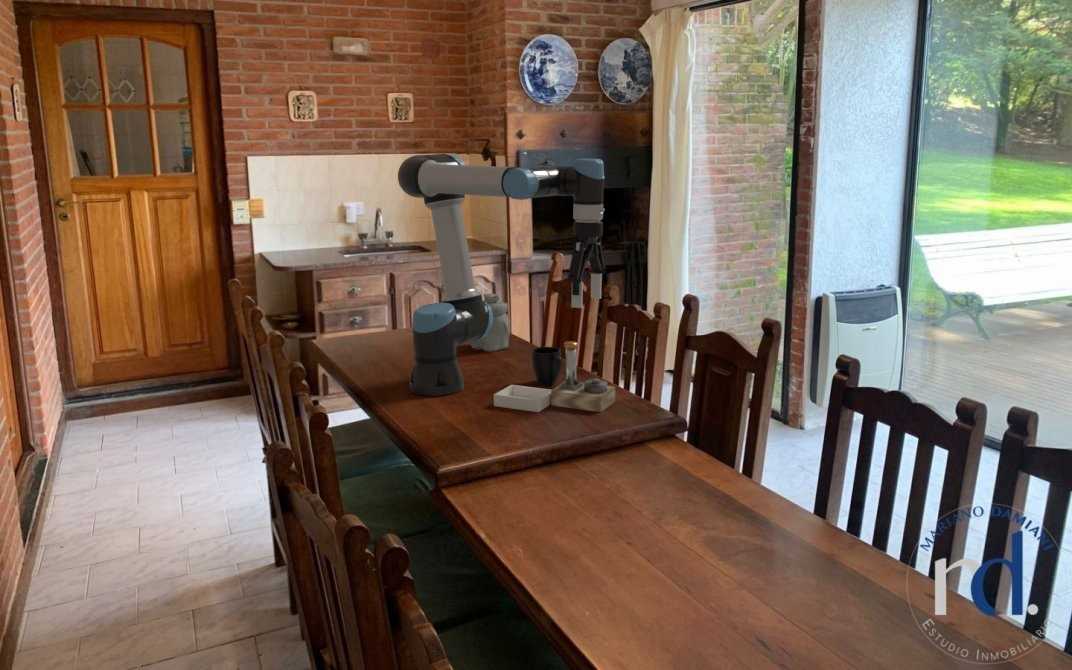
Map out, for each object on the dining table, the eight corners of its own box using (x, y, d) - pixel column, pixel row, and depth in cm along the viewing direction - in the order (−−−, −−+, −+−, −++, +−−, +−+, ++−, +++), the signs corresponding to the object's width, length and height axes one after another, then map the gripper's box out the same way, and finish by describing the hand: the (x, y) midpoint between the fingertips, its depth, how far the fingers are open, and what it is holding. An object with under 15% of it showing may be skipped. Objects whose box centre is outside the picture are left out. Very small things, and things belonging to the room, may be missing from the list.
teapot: (461, 342, 295) (459, 288, 291) (505, 340, 298) (504, 286, 293) (465, 354, 279) (463, 297, 275) (511, 351, 282) (510, 295, 278)
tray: (493, 405, 225) (493, 394, 224) (511, 395, 234) (511, 384, 233) (538, 412, 219) (538, 400, 218) (555, 401, 228) (555, 390, 227)
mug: (546, 391, 237) (545, 357, 235) (527, 380, 248) (527, 348, 246) (572, 387, 241) (572, 354, 239) (553, 377, 251) (552, 345, 249)
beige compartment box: (551, 405, 225) (550, 380, 223) (567, 395, 233) (566, 370, 232) (600, 412, 219) (601, 386, 217) (615, 401, 227) (615, 376, 226)
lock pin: (562, 388, 226) (561, 343, 223) (567, 384, 229) (567, 340, 226) (574, 389, 224) (574, 345, 222) (580, 386, 227) (580, 342, 225)
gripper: (584, 226, 206) (582, 313, 211) (618, 216, 228) (616, 295, 233) (555, 224, 209) (554, 310, 214) (591, 215, 231) (590, 293, 236)
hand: (586, 302), depth 223 cm, fingers open, 13 cm apart
